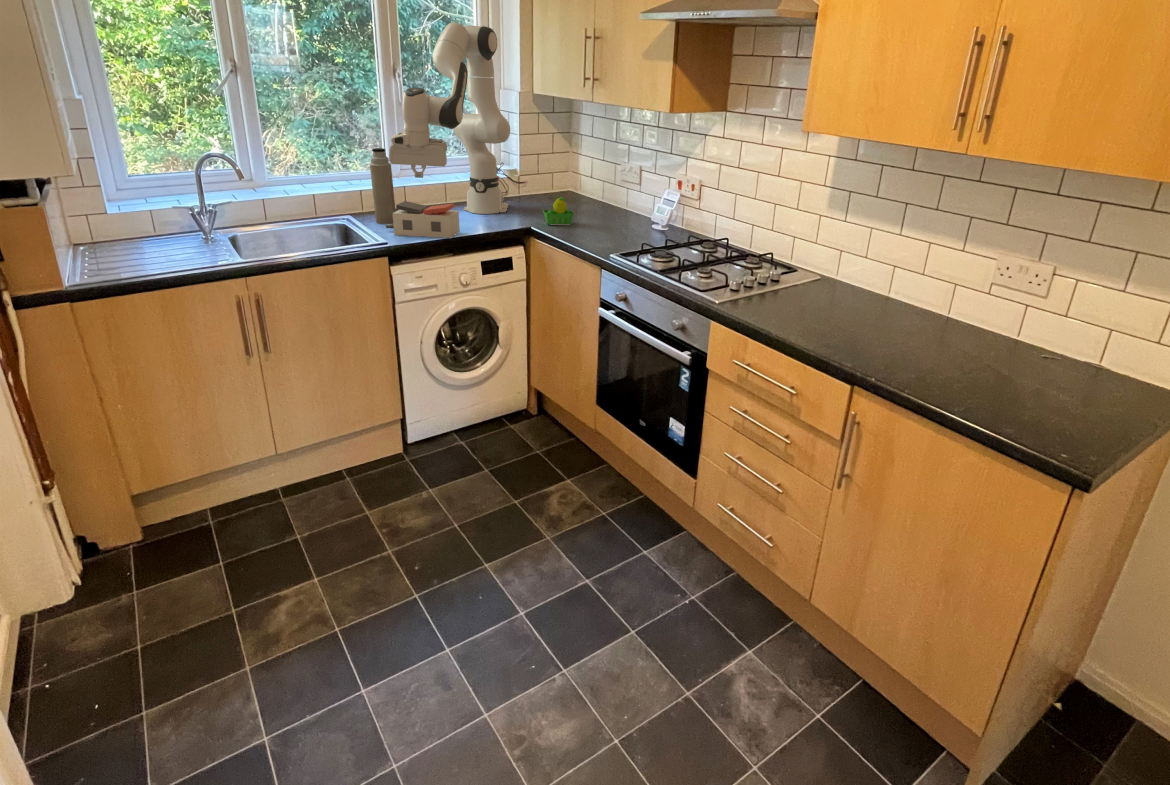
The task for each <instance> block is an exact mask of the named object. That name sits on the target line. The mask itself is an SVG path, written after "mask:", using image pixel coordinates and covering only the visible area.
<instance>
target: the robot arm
mask: <svg viewBox="0 0 1170 785" xmlns="http://www.w3.org/2000/svg"><path fill="white" fill-rule="evenodd" d="M497 48H498V38H497V34H496V32H495V31H494V29H492V28H491V27H489V26H484V25H483V26H479V25H463V24H461V23H458V22H450V23H448V24H447V25H446V26H445V27H444V28H443V30H442V31H441V33H440V34H439V36H438V38H437V41H436V42H435V46H434V48H433V51H432V56H431V57H432V62H433V65H434V67H435V68H436V70H437V72H439V73H440V74H441V75H443V77H446V78H449V79H450V80H452V85H451V92H450V95H449V96H447V97H440V96H433V95H429V94H427V92H426V90H425V89H424V88H421V87H409V88H407V89H405V90H404V91H403V94H402V117H403V120H404V122H403V124H404V126H403V131H401V132H397V133H394V134H393V135H392V136H391V138H390V141H391V145H390V146H389V149H388V158H389V163H390V164H391V165H402V166H403V165H404V166H405V165H406V166H410V169H411V171H412V172H413V173H414V178H420V179H423V178H424V173H425V170H426V168H427V167H440V168H441V167H445V166H446V165H447V163H448V159H447V158H448V157H447V151H448V144H447V142H446V140H443V139H442V138H440V139H439V138H438V139H436V138H431V137H430V126H436V127H442V128H447V129H451V130H453V132H454V136H456V138H457V139H459V141H460V142H462V144H463V146H464V148H465V151H466V153H467V156H468V162H469V171H470V172H469V173H470V176H469V180H468V181H469V186H470V187H469V189H468V190H466V192H467V193H466V206H464V207H463V210H464V211H467V212H469V213H472V214H481V215H490V214H498V213H499V212H500V213H507V212H508V209H509V206H508V205H509V203H507V202H504V201H505V200H504V192H503V191H502V189H501V188H500V186H499V185H500V184H499V182H500V177H499V175H497V173H498V172H497V158H496V156H495V155H494V154H493V153H492V152H491V151H489V149H488V147H487V145H486V144H493V145H494V144H495V145H496V144H501V143H505V142H506V141H508V139H509V138H510V135H511V126H510V123H509V121H508V119H506V118H505V116H504V115H503V114H502V112H501V110H500V109H499V106H498V103H497V100H496V91H495V90H496V89H495V68H494V67H495V66H494V61H493V56H495V53H496V51H497ZM465 59H466V64H465V62H464V61H465ZM466 96H467V99H468V100H469V101H470V103H472V104H473V105H474V106H475V108H476V111H477V113H465V114H464V103H465V97H466ZM429 125H430V126H429ZM417 166H420V168H421V169H422V170H421V171H417V168H416V167H417ZM507 208H508V209H507ZM506 211H507V212H506Z"/></svg>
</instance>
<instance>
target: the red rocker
mask: <svg viewBox="0 0 1170 785" xmlns="http://www.w3.org/2000/svg"><path fill="white" fill-rule="evenodd" d="M452 209H455V203H446V204H439V205H432V206H431V205H430V206H429V207H428V208H427V209H425V210H423V211H424V214H431V213H434V214H438V213H440V212H447V211H449V210H450V211H451V210H452Z"/></svg>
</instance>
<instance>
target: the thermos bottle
mask: <svg viewBox="0 0 1170 785" xmlns="http://www.w3.org/2000/svg"><path fill="white" fill-rule="evenodd" d="M371 151H372V157H371V158H370V164H369V170H370V178H371V179H370V180H371V181H370V182H371V187H372V188H371V189H372V196H373V205H374V206H373V207H374V216H375V217H374V218H375V223H376V224H379V225H386V224H393V214H392V213H394V212H396V211H397V210H396V203H395V193H394V182H393V172H392V171H393V170H392V164H391V163H390V161H389V156H387V153H386V148H380V147H378V148H377V147H375V148H371Z"/></svg>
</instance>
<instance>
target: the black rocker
mask: <svg viewBox="0 0 1170 785" xmlns="http://www.w3.org/2000/svg"><path fill="white" fill-rule="evenodd" d="M427 208H429V207H428V205H424V204H421V203H416V202H410V201H407V200H403V201H402V202H399V203H398V204H395V210H404V211H406V212H407V213H410V212H413V213H417V214H420V213H422V212H424V211H423V210H425V209H427Z"/></svg>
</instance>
